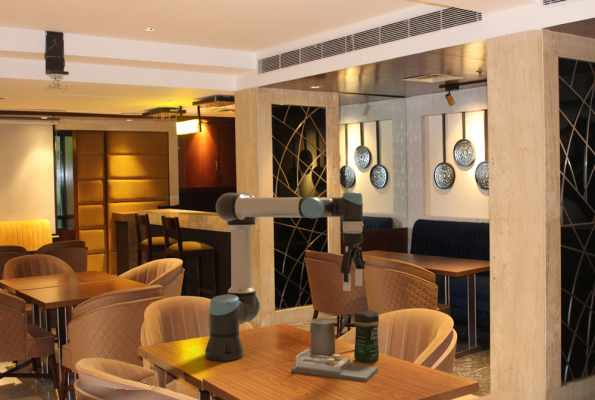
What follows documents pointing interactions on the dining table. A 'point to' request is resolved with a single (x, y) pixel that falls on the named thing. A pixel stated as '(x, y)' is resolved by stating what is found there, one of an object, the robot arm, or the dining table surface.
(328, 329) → the pillar candle
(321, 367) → the keyhole panel
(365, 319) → the coffee jar
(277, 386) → the dining table surface
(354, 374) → the board
